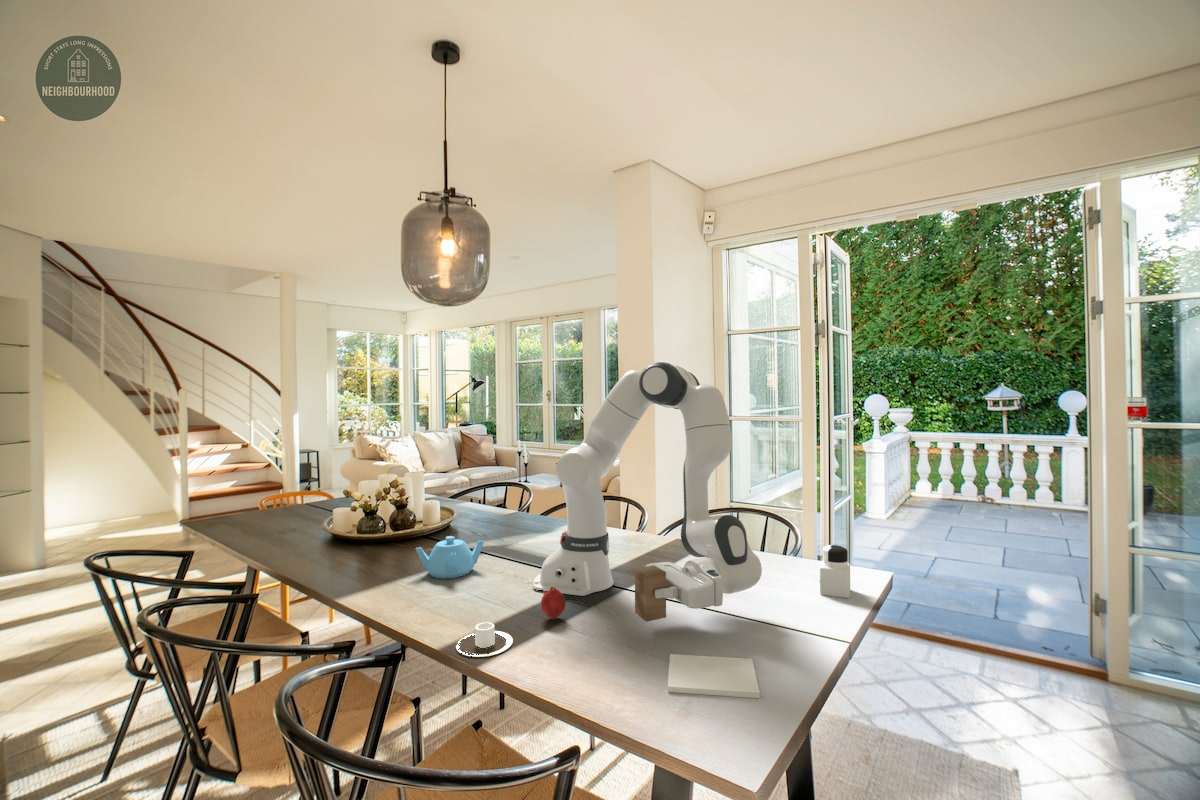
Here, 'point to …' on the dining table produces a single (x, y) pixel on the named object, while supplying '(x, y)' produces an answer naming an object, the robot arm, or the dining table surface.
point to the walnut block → (649, 593)
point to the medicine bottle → (835, 572)
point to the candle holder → (486, 639)
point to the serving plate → (712, 676)
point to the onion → (553, 603)
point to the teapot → (450, 558)
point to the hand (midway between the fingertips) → (646, 588)
